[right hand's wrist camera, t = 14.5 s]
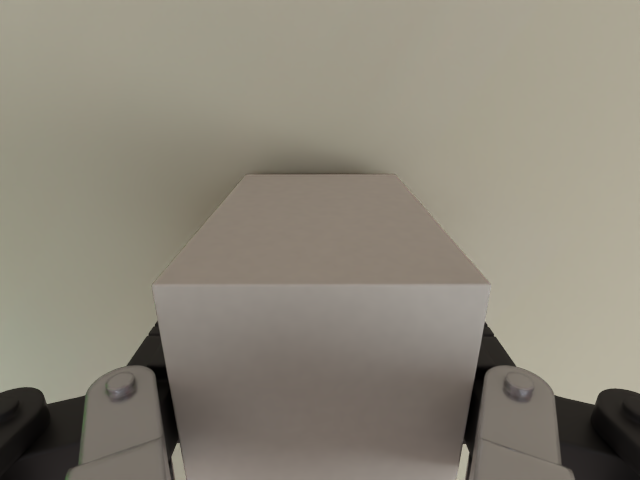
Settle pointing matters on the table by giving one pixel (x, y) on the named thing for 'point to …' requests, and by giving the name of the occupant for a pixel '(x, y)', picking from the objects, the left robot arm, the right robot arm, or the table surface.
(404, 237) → the box
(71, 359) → the table surface
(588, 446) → the right robot arm
